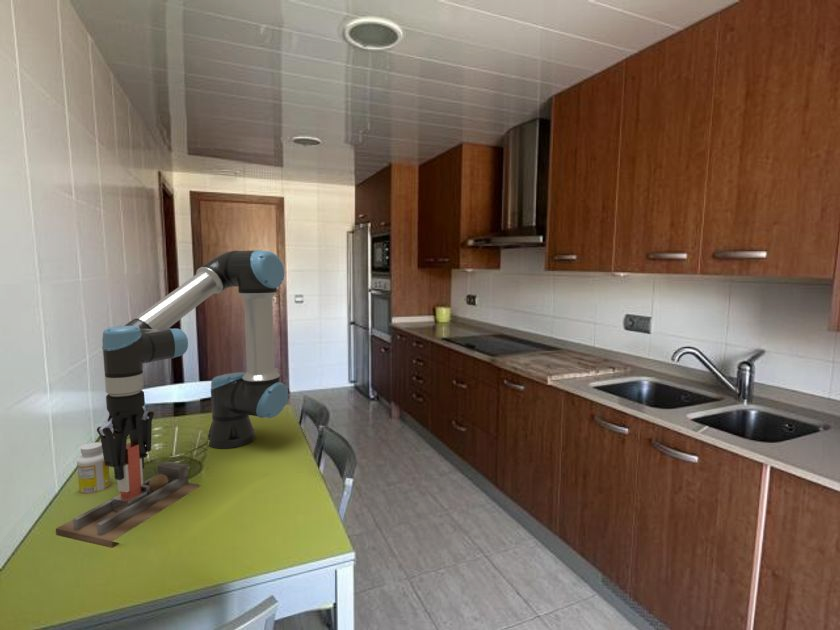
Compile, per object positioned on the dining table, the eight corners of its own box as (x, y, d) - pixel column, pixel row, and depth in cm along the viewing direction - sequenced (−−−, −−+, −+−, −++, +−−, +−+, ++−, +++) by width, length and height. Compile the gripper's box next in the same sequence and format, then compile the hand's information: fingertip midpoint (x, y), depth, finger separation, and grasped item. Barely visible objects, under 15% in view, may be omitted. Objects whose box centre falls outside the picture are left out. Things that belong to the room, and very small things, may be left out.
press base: (154, 482, 125) (152, 459, 124) (202, 490, 121) (201, 467, 120) (56, 535, 100) (54, 507, 99) (112, 547, 96) (110, 518, 95)
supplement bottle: (104, 484, 124) (101, 438, 122) (114, 491, 120) (111, 444, 118) (75, 493, 118) (71, 446, 117) (85, 501, 114) (81, 452, 113)
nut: (159, 486, 120) (158, 470, 119) (172, 488, 118) (172, 472, 118) (145, 494, 115) (144, 477, 115) (159, 496, 114) (158, 480, 114)
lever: (134, 498, 113) (131, 440, 111) (150, 501, 111) (147, 442, 110) (112, 510, 107) (108, 449, 105) (129, 513, 106) (125, 452, 104)
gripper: (142, 382, 115) (146, 470, 117) (79, 400, 100) (86, 501, 102) (165, 384, 113) (170, 474, 115) (105, 403, 98) (111, 506, 100)
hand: (130, 487), depth 109 cm, fingers closed on lever, 3 cm apart
